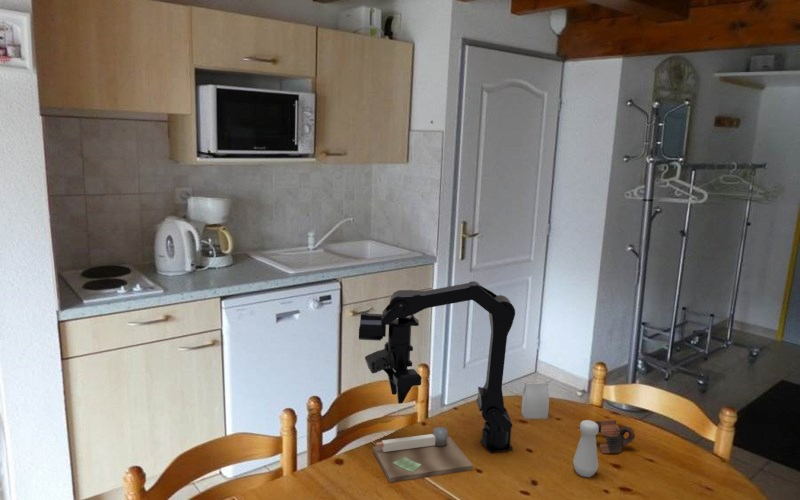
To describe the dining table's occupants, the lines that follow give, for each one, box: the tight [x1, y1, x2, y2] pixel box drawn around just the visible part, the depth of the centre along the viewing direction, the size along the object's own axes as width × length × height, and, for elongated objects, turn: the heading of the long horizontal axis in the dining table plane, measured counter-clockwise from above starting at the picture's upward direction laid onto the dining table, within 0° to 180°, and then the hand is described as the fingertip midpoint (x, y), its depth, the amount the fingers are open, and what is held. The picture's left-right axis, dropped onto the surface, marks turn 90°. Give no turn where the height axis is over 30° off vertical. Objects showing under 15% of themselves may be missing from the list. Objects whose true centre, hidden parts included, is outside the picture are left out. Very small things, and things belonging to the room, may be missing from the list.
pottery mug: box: [594, 419, 636, 454], centre depth 154 cm, size 12×10×8 cm
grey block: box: [520, 382, 550, 420], centre depth 169 cm, size 4×7×10 cm, turn 95°
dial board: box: [372, 436, 474, 483], centre depth 144 cm, size 21×14×1 cm
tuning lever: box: [375, 426, 448, 452], centre depth 147 cm, size 19×4×4 cm, turn 108°
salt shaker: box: [572, 419, 599, 478], centre depth 140 cm, size 6×6×13 cm
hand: (397, 398), depth 150 cm, fingers open, 5 cm apart
